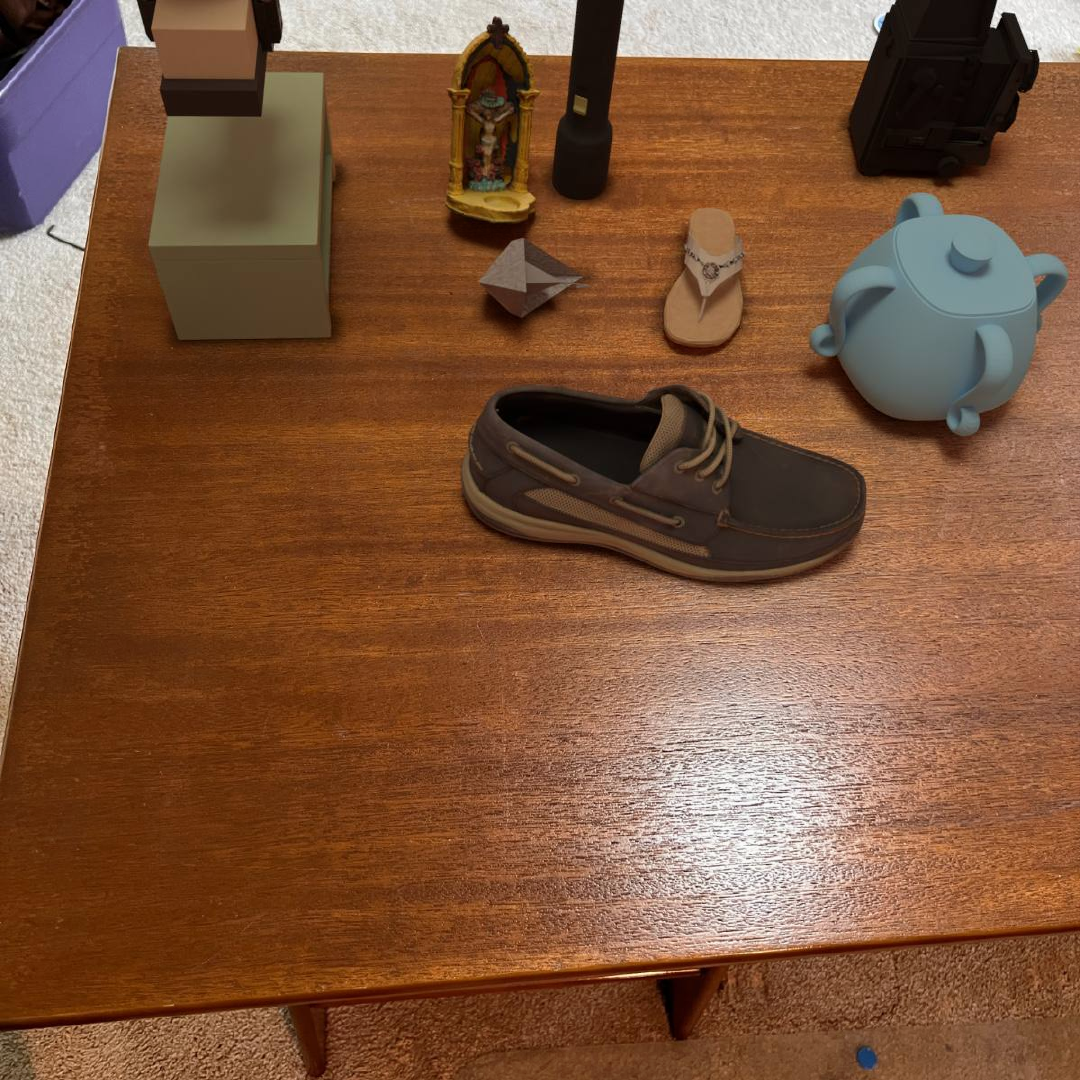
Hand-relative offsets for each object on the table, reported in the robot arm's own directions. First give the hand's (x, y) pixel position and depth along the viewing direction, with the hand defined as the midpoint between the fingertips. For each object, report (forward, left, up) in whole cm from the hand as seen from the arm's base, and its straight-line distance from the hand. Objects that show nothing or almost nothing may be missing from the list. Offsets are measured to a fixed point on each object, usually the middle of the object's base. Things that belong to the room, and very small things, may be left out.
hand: (218, 43), depth 72 cm
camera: (+52, -35, -22) cm, 66 cm away
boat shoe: (+1, -39, -22) cm, 44 cm away
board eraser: (+1, +1, -1) cm, 2 cm away
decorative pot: (+27, -47, -22) cm, 58 cm away
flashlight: (+27, -13, -22) cm, 37 cm away
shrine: (+19, -9, -22) cm, 30 cm away
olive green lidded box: (+2, +3, -21) cm, 22 cm away
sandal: (+23, -28, -22) cm, 43 cm away
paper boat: (+12, -19, -22) cm, 31 cm away
